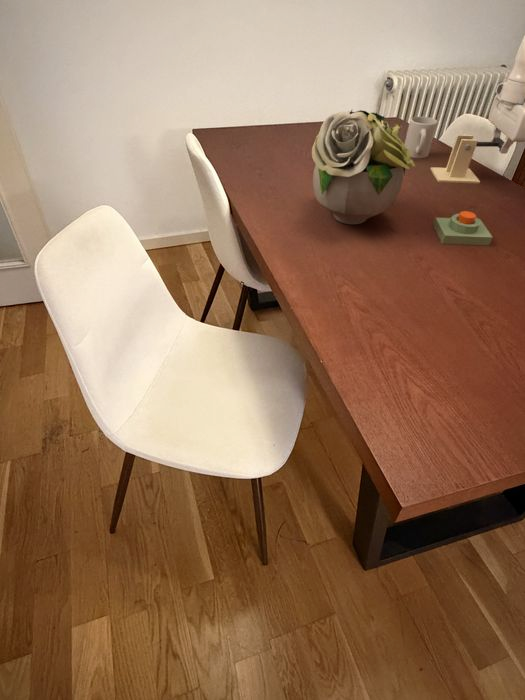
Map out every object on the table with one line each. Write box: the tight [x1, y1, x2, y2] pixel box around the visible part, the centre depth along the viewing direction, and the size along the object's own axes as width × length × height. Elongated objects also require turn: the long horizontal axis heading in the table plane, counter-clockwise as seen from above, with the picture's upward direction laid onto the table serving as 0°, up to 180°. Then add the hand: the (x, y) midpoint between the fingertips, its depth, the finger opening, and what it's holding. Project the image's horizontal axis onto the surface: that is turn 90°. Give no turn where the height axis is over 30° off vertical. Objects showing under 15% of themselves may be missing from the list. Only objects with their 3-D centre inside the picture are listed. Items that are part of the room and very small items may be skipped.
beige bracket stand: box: [430, 134, 481, 185], centre depth 118 cm, size 12×10×12 cm
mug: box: [404, 116, 438, 159], centre depth 131 cm, size 12×8×11 cm
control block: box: [432, 213, 493, 246], centre depth 97 cm, size 11×9×4 cm
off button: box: [458, 210, 477, 224], centre depth 95 cm, size 4×4×2 cm
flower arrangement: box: [311, 109, 416, 225], centre depth 95 cm, size 25×25×24 cm
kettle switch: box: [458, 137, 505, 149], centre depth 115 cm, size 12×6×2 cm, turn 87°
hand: (498, 148), depth 116 cm, fingers closed on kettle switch, 5 cm apart
